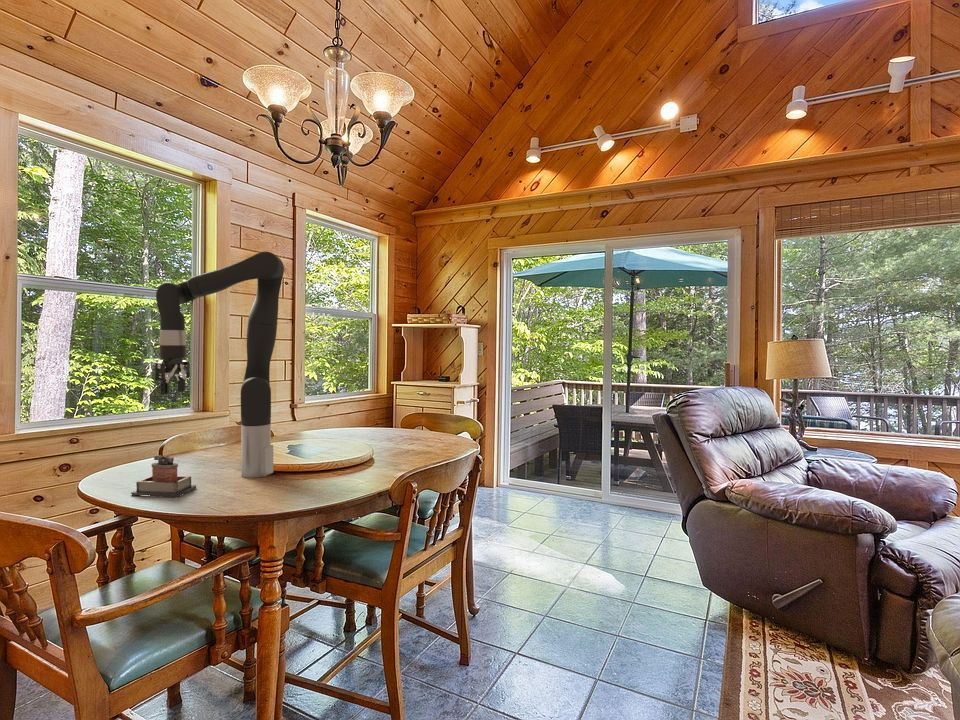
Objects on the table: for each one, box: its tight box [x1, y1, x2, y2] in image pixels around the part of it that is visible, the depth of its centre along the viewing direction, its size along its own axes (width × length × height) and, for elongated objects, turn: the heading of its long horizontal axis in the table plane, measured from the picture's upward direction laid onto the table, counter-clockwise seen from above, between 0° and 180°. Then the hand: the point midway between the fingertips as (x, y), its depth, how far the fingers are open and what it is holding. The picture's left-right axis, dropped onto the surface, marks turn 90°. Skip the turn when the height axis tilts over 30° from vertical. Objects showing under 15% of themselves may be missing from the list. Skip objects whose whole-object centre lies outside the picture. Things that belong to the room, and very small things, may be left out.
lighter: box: [151, 454, 179, 482], centre depth 154 cm, size 8×3×10 cm, turn 80°
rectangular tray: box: [130, 475, 197, 498], centre depth 154 cm, size 9×14×4 cm, turn 86°
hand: (173, 392), depth 170 cm, fingers open, 8 cm apart
